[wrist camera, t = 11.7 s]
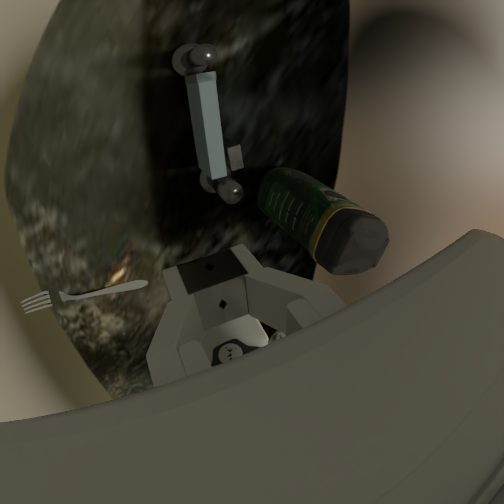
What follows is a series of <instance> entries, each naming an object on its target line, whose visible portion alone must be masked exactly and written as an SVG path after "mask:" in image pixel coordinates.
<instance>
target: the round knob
mask: <svg viewBox="0 0 504 504" xmlns="http://www.w3.org/2000/svg"><path fill="white" fill-rule="evenodd" d="M216 58H217V51H216V49H215V47H214V46H212V45H210V44H201V45H198V44H195V43H188V44H184V45H182V46H180V47H179V48H178V49H176V51H175V52H174V53H173V56H172V66H173V69H174V70H175V71H176V72H177V73H178V74H180V75H182V76H188V75H194V74H200V73H201V72H203V71H204V70H205V68H206V67H207V65H209V64H212V63H213V62H214V61H215V60H216Z"/></svg>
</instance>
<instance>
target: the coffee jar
mask: <svg viewBox="0 0 504 504" xmlns="http://www.w3.org/2000/svg"><path fill="white" fill-rule="evenodd" d="M257 205H258V208H259V209H260V210H261V211H262V212H263V213H264V214H265V215H267V216H268V217H269V218H270V219H271V220H273V221H274V222H275V223H276V224H278V225H279V226H280V227H281V228H283V229H284V230H285V231H286V232H287V233H288V234H290V235H291V236H292V237H293V238H294V239H295V240H297V241H298V242H299V243H300V244H301V245H302V246H303V247H304V248H305V249H306V250H307V251H308V252H309V253H310V254H311V256H312V258H313V259H314V260H315V261H316V262H317V263H318V264H319V265H321V266H322V267H323V268H325V269H326V270H327V271H328V272H330V273H331V274H334V275H351V274H359V273H362V272H365V271H367V270H368V269H370V268H372V267H375V266H376V265H377V263H378V262H379V260H380V258H381V256H382V254H383V253H384V251H385V249H386V247H387V245H388V243H389V238H388V230H387V227H386V225H385V224H384V223H383V222H382V221H381V220H380V219H379V218H377V217H376V216H375V215H373V214H372V213H370V212H369V211H367V210H365V209H363V208H362V207H360V206H358V205H357V204H355V203H353V202H351V201H350V200H348V199H347V198H345V197H344V196H342V195H340V194H339V193H337V192H336V191H334V190H332V189H331V188H329V187H327V186H326V185H324V184H322V183H321V182H319V181H317V180H316V179H314V178H312V177H311V176H309V175H307V174H305V173H303V172H301V171H298V170H294V169H290V168H283V167H276V168H273V169H271V170H270V171H268V172H267V173H266V175H265V176H264V178H263V180H262V181H261V184H260V186H259V190H258V193H257Z"/></svg>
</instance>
